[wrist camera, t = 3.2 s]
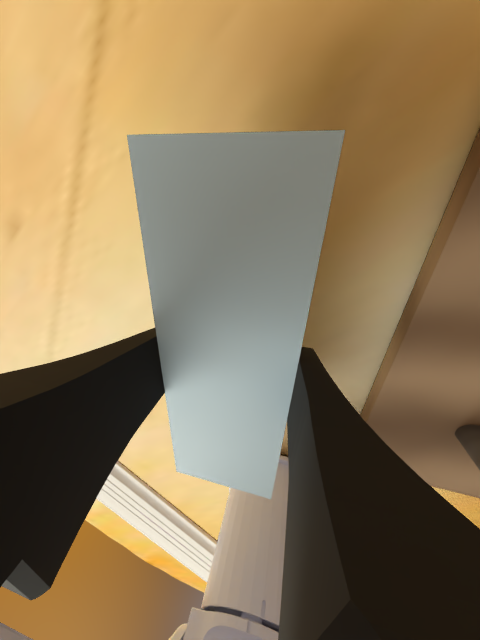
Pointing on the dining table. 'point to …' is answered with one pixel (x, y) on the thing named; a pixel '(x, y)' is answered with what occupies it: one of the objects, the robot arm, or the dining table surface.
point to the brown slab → (438, 354)
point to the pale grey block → (232, 286)
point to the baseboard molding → (158, 520)
